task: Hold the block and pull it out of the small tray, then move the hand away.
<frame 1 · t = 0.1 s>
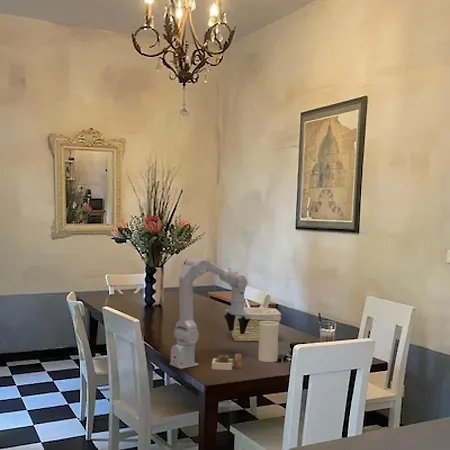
hand: (236, 332, 237), 10 cm above the table, tool pointing down, fingers open, 7 cm apart
storage basket: (254, 339, 269), on the table
cup: (267, 359, 231), on the table
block: (229, 360, 218), in the small tray
small tray: (223, 367, 218), on the table
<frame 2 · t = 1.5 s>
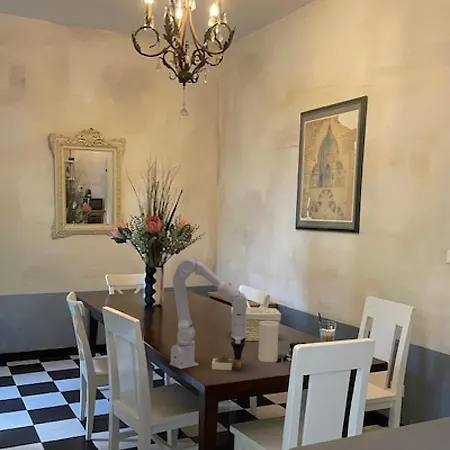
hand: (238, 357, 217), 4 cm above the table, tool pointing down, fingers open, 7 cm apart
nothing on the table moved.
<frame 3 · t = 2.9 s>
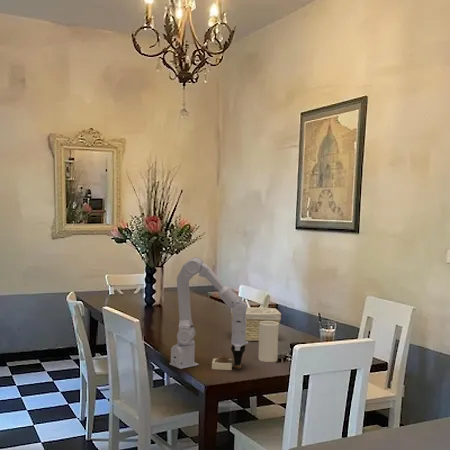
hand: (237, 363, 217), 2 cm above the table, tool pointing down, fingers closed on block, 3 cm apart
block: (229, 360, 218), in the small tray, touching gripper
everything else where it was.
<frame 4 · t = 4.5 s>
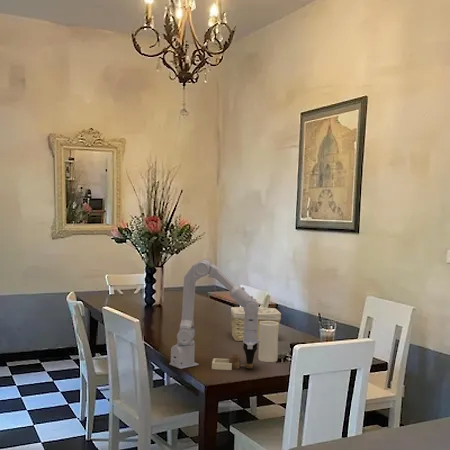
hand: (249, 362, 217), 2 cm above the table, tool pointing down, fingers closed on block, 3 cm apart
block: (241, 360, 218), on the table, touching gripper
everything else where it was.
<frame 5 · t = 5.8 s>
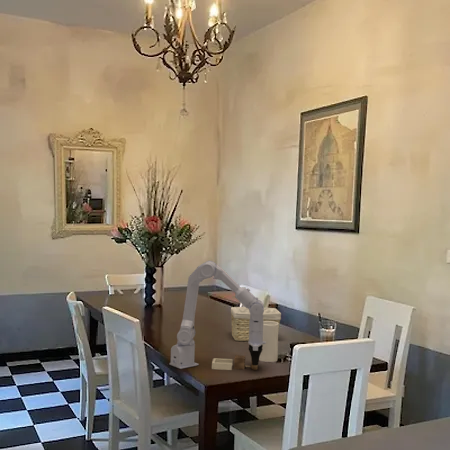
hand: (255, 363, 217), 2 cm above the table, tool pointing down, fingers closed on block, 3 cm apart
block: (246, 361, 217), on the table, touching gripper
everything else where it was.
when the fingers open (2 cm above the table, at t = 6.1 s): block stays where it is, on the table.
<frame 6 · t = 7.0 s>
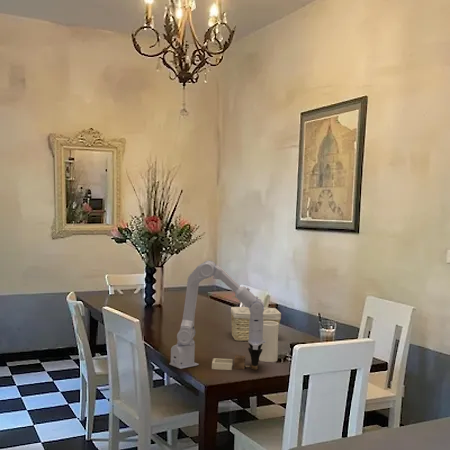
hand: (254, 363, 217), 2 cm above the table, tool pointing down, fingers open, 7 cm apart
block: (246, 361, 217), on the table
everything else where it was.
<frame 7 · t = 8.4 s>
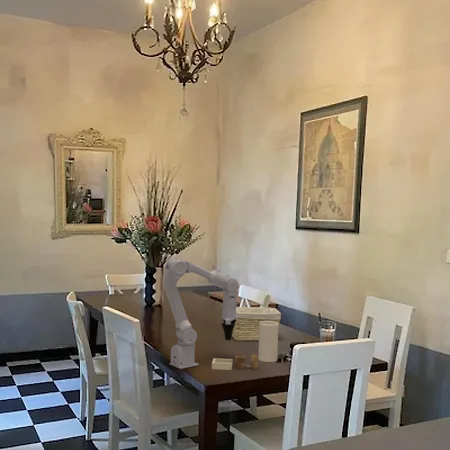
hand: (228, 337, 227), 10 cm above the table, tool pointing down, fingers open, 7 cm apart
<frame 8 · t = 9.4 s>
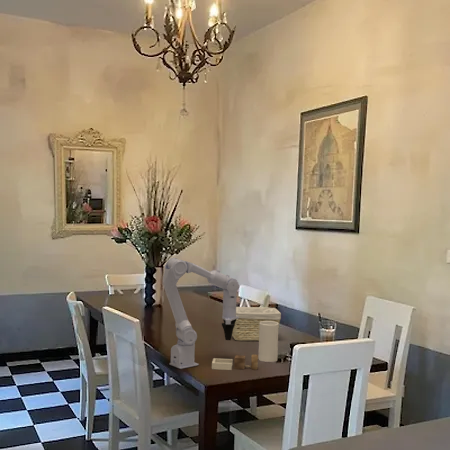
hand: (228, 337, 227), 10 cm above the table, tool pointing down, fingers open, 7 cm apart
at the end: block moved 6.8 cm from its start; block 2.9 cm from the target spot, on the table; the gripper is holding nothing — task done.
